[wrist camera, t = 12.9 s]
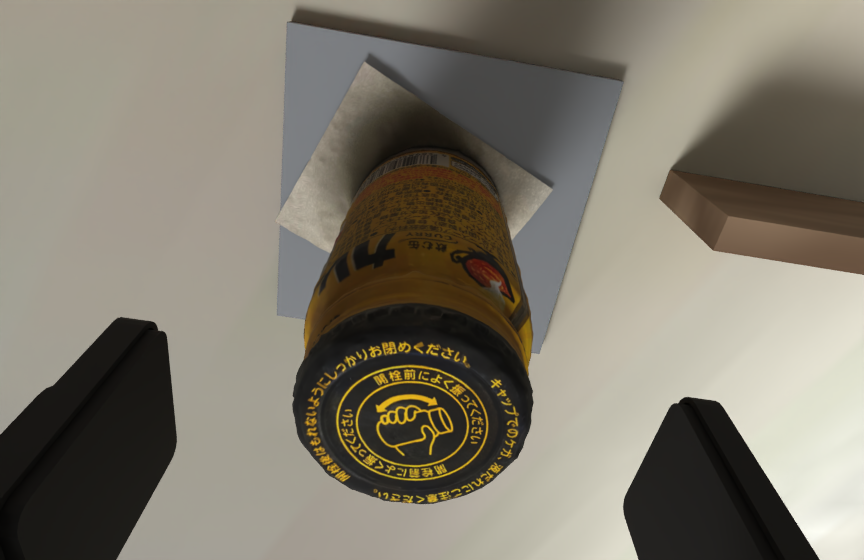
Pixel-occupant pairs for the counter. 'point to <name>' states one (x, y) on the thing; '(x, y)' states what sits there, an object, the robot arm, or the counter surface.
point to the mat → (476, 113)
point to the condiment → (412, 300)
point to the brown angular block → (769, 221)
